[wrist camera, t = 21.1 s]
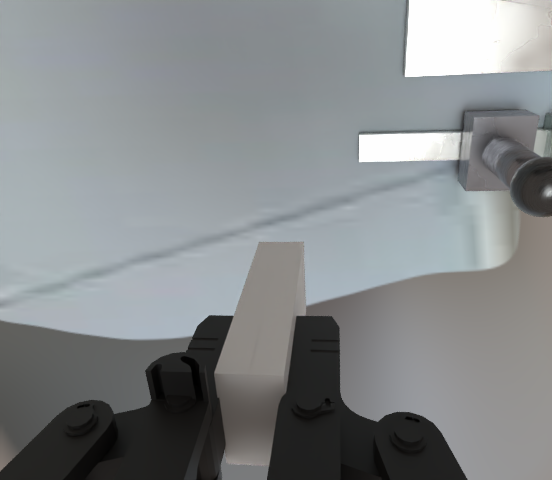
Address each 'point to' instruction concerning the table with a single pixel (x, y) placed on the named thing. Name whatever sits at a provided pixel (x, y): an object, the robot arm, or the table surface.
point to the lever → (506, 159)
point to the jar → (534, 2)
